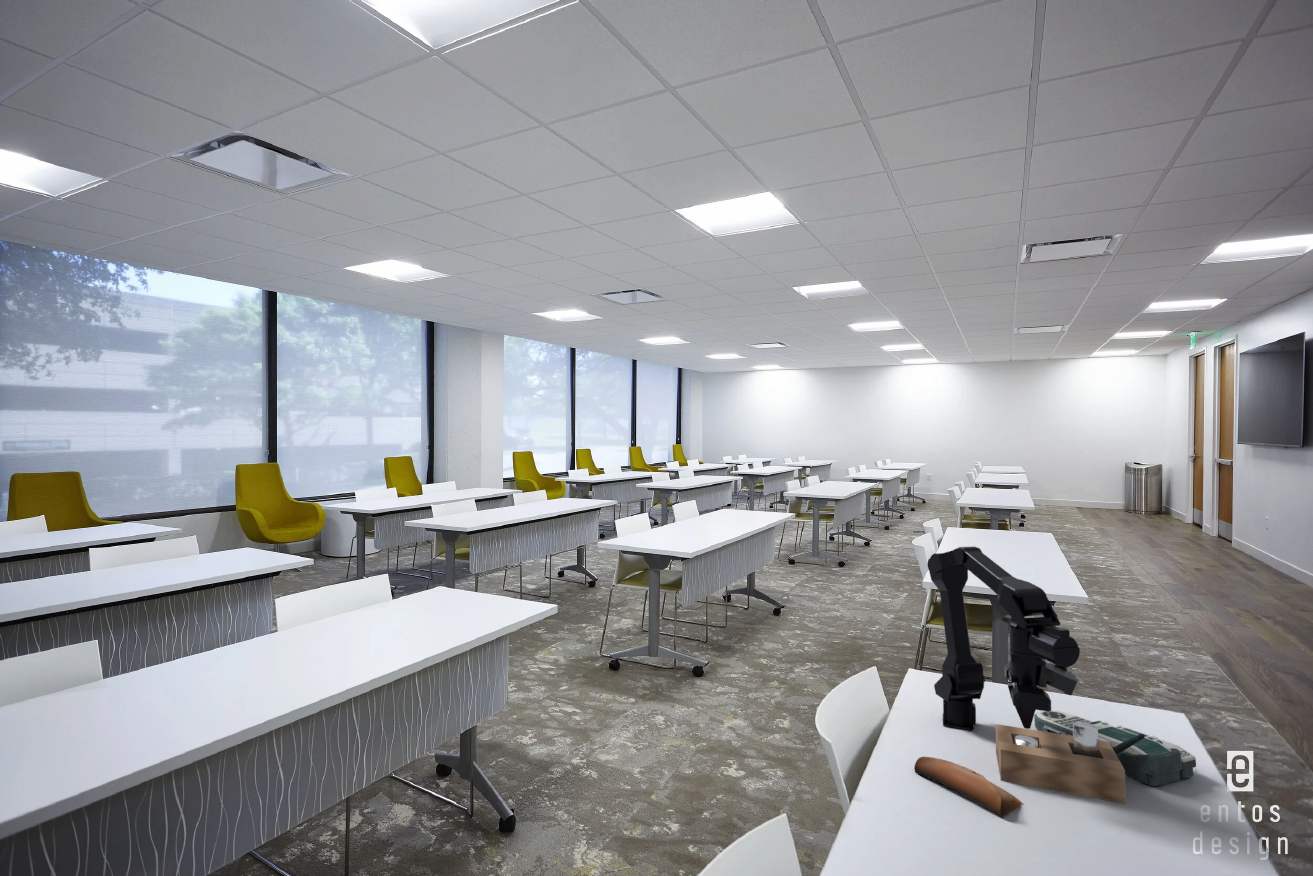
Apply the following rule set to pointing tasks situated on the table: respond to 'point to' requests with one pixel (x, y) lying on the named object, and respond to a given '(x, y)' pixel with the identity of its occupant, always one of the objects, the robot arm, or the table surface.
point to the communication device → (1129, 748)
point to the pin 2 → (1085, 739)
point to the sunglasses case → (968, 784)
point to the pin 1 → (1026, 741)
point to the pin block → (1059, 764)
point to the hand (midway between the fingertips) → (1026, 728)
